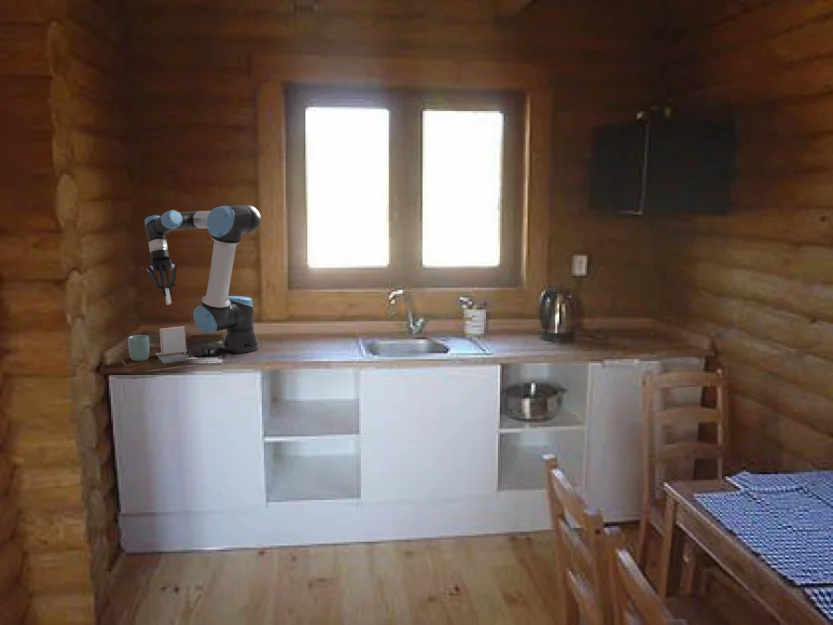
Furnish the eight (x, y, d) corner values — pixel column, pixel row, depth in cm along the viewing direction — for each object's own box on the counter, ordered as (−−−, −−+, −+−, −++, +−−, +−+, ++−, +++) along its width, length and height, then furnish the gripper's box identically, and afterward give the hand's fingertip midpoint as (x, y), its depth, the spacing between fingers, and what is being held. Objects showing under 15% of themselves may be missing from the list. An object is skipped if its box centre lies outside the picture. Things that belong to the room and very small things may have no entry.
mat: (155, 355, 313) (154, 353, 313) (188, 351, 320) (188, 349, 320) (163, 365, 298) (163, 363, 298) (199, 360, 305) (198, 359, 305)
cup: (143, 357, 310) (141, 333, 308) (153, 360, 306) (152, 336, 304) (126, 361, 305) (124, 337, 302) (136, 364, 300) (134, 340, 298)
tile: (161, 354, 312) (159, 328, 309) (185, 351, 317) (184, 326, 314) (162, 355, 310) (160, 329, 308) (186, 352, 315) (185, 327, 312)
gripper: (172, 253, 328) (182, 304, 324) (142, 255, 321) (151, 307, 318) (176, 247, 322) (186, 299, 318) (145, 249, 315) (155, 303, 311)
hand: (169, 303), depth 318 cm, fingers closed
